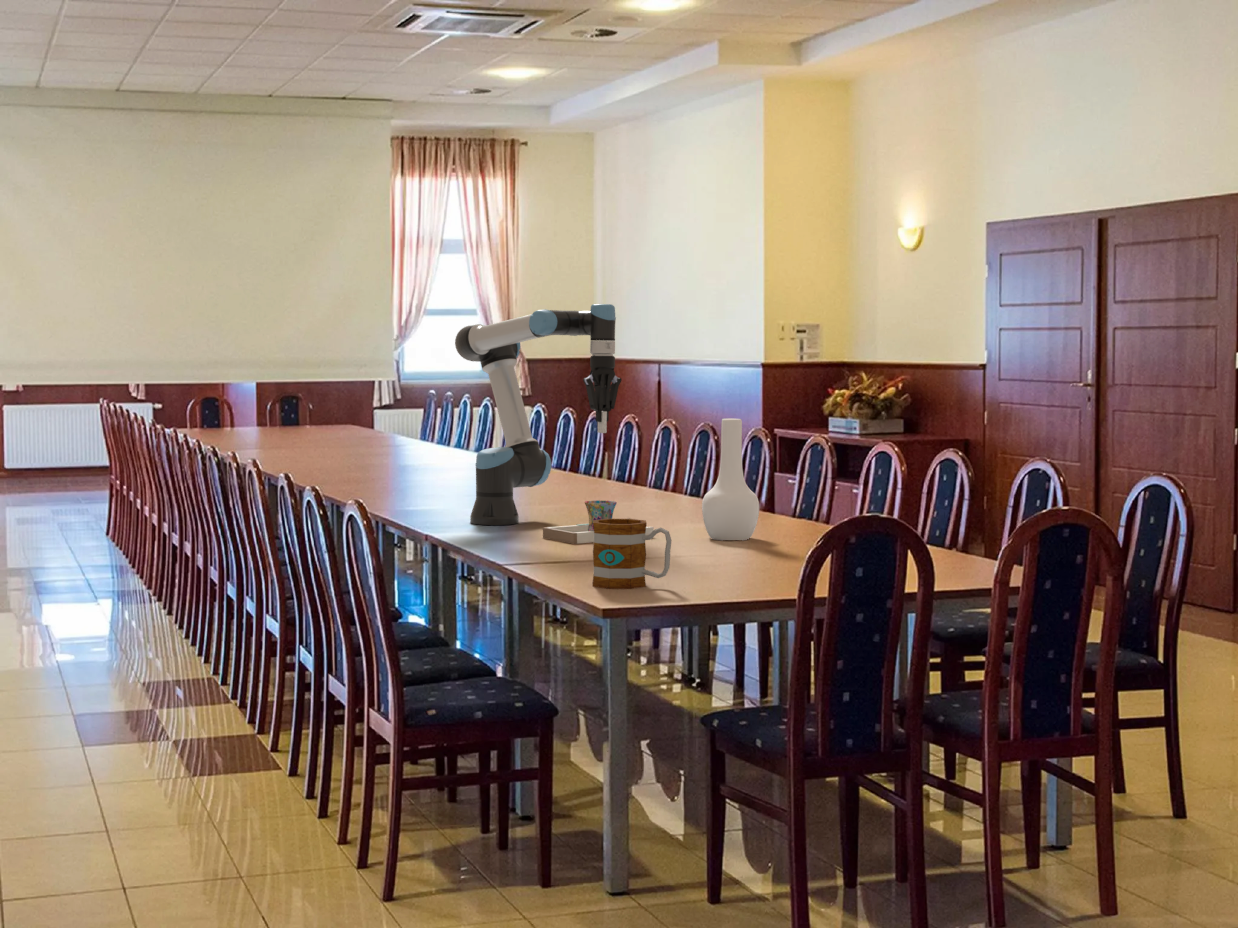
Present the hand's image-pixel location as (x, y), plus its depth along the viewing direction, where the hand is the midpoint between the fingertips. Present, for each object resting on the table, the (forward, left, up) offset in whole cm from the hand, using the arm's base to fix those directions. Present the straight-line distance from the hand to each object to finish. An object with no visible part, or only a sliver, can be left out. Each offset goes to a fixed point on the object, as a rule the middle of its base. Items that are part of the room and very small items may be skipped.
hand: (602, 432), depth 485 cm
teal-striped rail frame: (+18, -13, -29) cm, 37 cm away
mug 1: (+18, -13, -30) cm, 37 cm away
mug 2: (+97, -59, -30) cm, 117 cm away
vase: (+40, +18, -30) cm, 53 cm away
